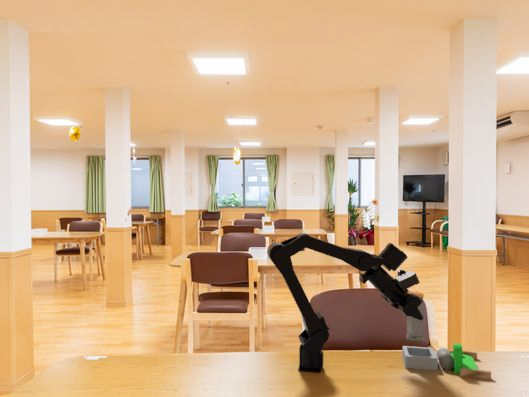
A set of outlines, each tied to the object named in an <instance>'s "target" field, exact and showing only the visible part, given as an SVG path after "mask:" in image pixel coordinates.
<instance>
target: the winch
mask: <svg viewBox="0 0 529 397" xmlns="http://www.w3.org/2000/svg"><path fill="white" fill-rule="evenodd" d="M449 350H450V349H447V347H446V348H445V347H441V348H438V349H437V351H436V352H435V350H434V348H433V347H427V346H426V347H425V346H423V347H422V346H414V345H413V346H412V345H411V346H409V345H402V355H401V356H402V360H403V363H404V368H405V369H415V370H425V371H426V370H429V371H438V370H439V369H438V361H439V363H440V366H441V367H442V368H443V369H444V370H448V371H450V370H454V369H453V368H454V359H453V357H452V355H451V354H450V352H449Z"/></svg>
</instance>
